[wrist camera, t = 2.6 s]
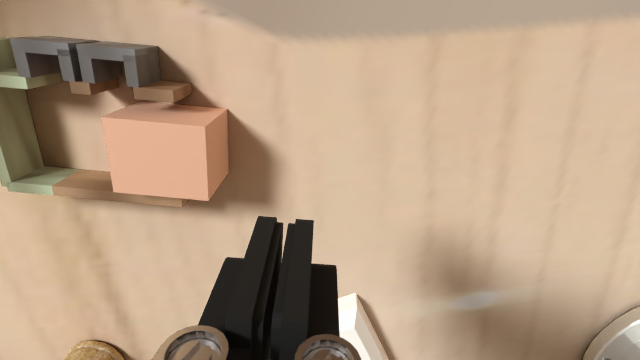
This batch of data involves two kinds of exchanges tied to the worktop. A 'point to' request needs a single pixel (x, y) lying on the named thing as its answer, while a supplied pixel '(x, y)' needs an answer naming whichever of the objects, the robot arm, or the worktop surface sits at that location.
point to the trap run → (84, 78)
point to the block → (167, 149)
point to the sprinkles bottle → (93, 352)
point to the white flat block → (359, 329)
